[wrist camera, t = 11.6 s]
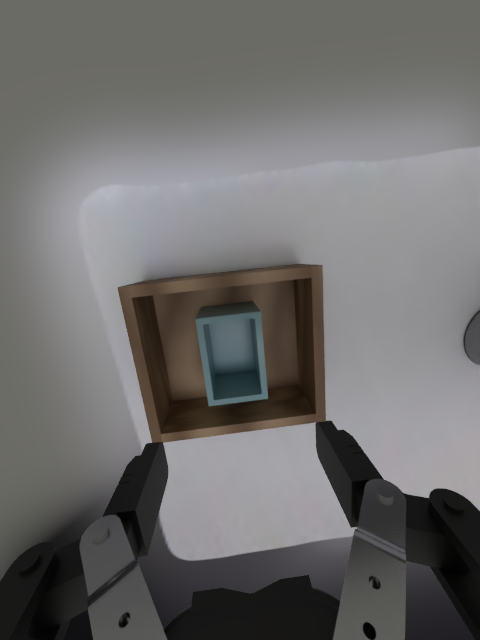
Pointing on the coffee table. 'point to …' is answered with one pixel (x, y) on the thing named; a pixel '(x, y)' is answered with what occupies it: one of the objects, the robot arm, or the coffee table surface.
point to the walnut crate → (185, 359)
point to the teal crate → (232, 353)
